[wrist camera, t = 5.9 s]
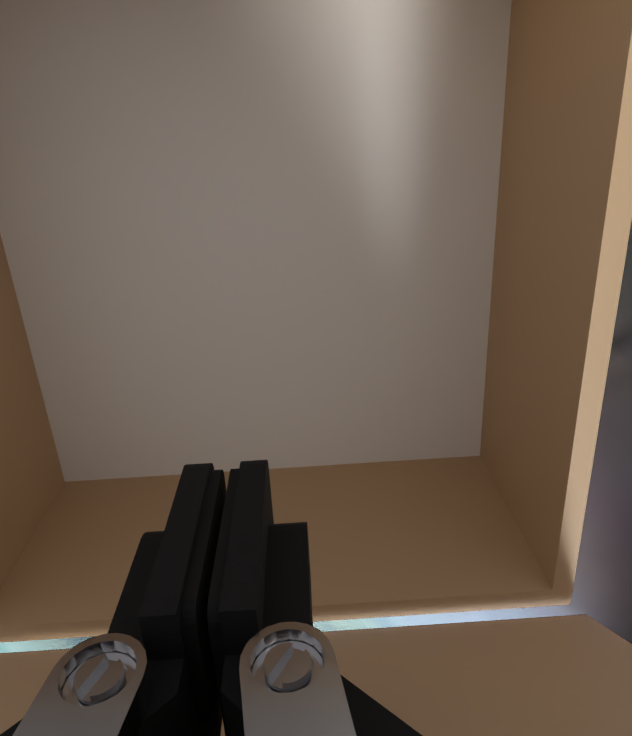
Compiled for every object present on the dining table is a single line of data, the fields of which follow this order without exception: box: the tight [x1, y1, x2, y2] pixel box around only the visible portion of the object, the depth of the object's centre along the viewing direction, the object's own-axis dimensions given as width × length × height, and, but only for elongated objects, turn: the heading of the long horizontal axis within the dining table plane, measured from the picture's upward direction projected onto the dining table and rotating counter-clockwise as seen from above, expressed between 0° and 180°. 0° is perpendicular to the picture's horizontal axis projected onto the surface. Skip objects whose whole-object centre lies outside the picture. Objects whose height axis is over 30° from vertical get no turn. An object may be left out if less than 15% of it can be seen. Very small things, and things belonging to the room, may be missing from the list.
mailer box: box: [0, 0, 632, 642], centre depth 18 cm, size 18×18×8 cm
